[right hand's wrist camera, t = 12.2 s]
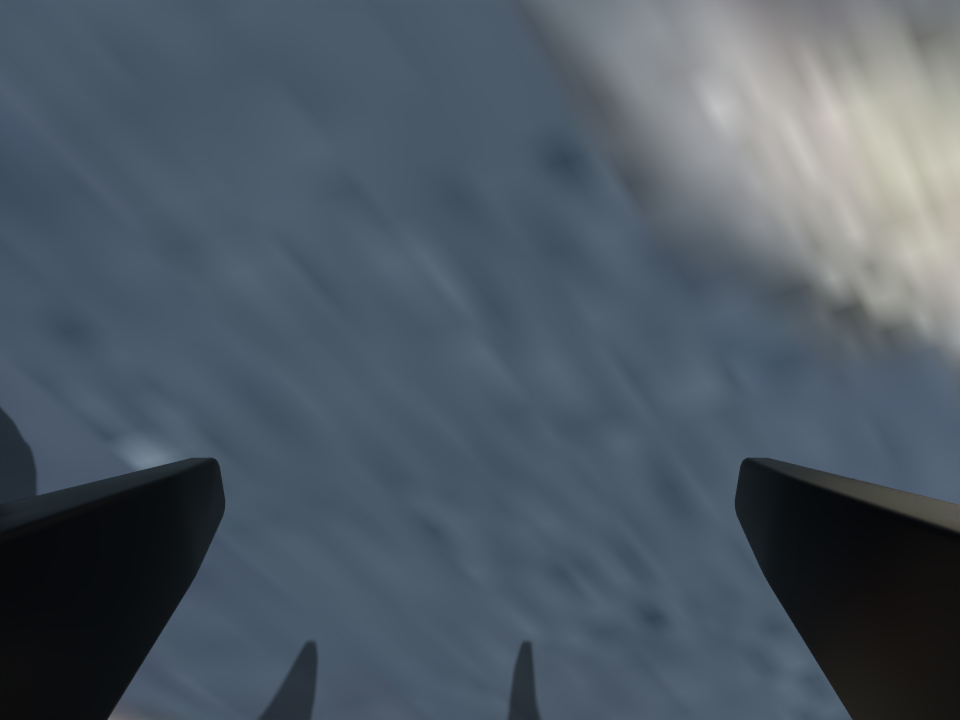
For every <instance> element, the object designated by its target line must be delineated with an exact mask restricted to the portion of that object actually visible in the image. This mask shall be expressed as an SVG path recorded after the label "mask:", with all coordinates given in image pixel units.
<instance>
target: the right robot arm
mask: <svg viewBox="0 0 960 720" xmlns="http://www.w3.org/2000/svg"><path fill="white" fill-rule="evenodd" d="M224 510H225V496H224V490H223V484H222V478H221V472H220V466H219V463H218V461H217V460H216V459H214V458H190V459H186V460H182V461H178V462H174V463H170V464H165V465H161V466H157V467H153V468H149V469H145V470H141V471H137V472H133V473H129V474H124V475H120V476H116V477H112V478H108V479H104V480H100V481H96V482H92V483H87V484H83V485H79V486H75V487H71V488H67V489H63V490H59V491H55V492H51V493H46V494H42V495H38V496H34V497H30V498H26V499H22V500H18V501H14V502H10V503H5V504H1V505H0V720H108V718H109V716H110V715H111V713H112V711H113V710H114V708H115V707H116V705H117V703H118V702H119V700H120V698H121V697H122V695H123V694H124V692H125V690H126V689H127V687H128V685H129V684H130V682H131V681H132V679H133V677H134V676H135V674H136V672H137V671H138V669H139V668H140V666H141V664H142V663H143V661H144V660H145V658H146V656H147V655H148V653H149V651H150V650H151V648H152V647H153V645H154V643H155V642H156V640H157V638H158V637H159V635H160V634H161V632H162V630H163V629H164V627H165V625H166V624H167V622H168V621H169V619H170V617H171V616H172V614H173V613H174V611H175V609H176V608H177V606H178V604H179V603H180V601H181V600H182V598H183V596H184V595H185V593H186V591H187V590H188V588H189V586H190V585H191V583H192V581H193V580H194V578H195V576H196V574H197V572H198V570H199V568H200V566H201V564H202V562H203V559H204V557H205V555H206V553H207V551H208V548H209V546H210V544H211V542H212V539H213V537H214V535H215V533H216V531H217V528H218V526H219V524H220V522H221V519H222V517H223V514H224ZM735 510H736V514H737V517H738V519H739V522H740V524H741V526H742V528H743V530H744V533H745V535H746V537H747V539H748V542H749V544H750V546H751V548H752V550H753V553H754V555H755V557H756V559H757V562H758V564H759V566H760V568H761V570H762V572H763V574H764V576H765V578H766V580H767V581H768V583H769V585H770V586H771V588H772V590H773V591H774V593H775V595H776V596H777V598H778V600H779V601H780V603H781V604H782V606H783V608H784V609H785V611H786V612H787V614H788V616H789V617H790V619H791V621H792V622H793V624H794V625H795V627H796V629H797V630H798V632H799V634H800V635H801V637H802V638H803V640H804V642H805V643H806V645H807V647H808V648H809V650H810V651H811V653H812V655H813V656H814V658H815V659H816V661H817V663H818V664H819V666H820V668H821V669H822V671H823V672H824V674H825V676H826V677H827V679H828V681H829V682H830V684H831V685H832V687H833V689H834V690H835V692H836V694H837V695H838V697H839V698H840V700H841V702H842V703H843V705H844V706H845V708H846V710H847V711H848V713H849V715H850V716H851V718H852V719H853V720H960V505H959V504H955V503H951V502H947V501H942V500H938V499H934V498H930V497H926V496H922V495H918V494H914V493H910V492H905V491H901V490H897V489H893V488H889V487H885V486H881V485H877V484H873V483H869V482H864V481H860V480H856V479H852V478H848V477H844V476H840V475H836V474H832V473H827V472H823V471H819V470H815V469H811V468H807V467H803V466H799V465H795V464H790V463H786V462H782V461H778V460H774V459H770V458H746V459H744V460H743V461H742V463H741V466H740V472H739V478H738V484H737V490H736V496H735Z"/></svg>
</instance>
